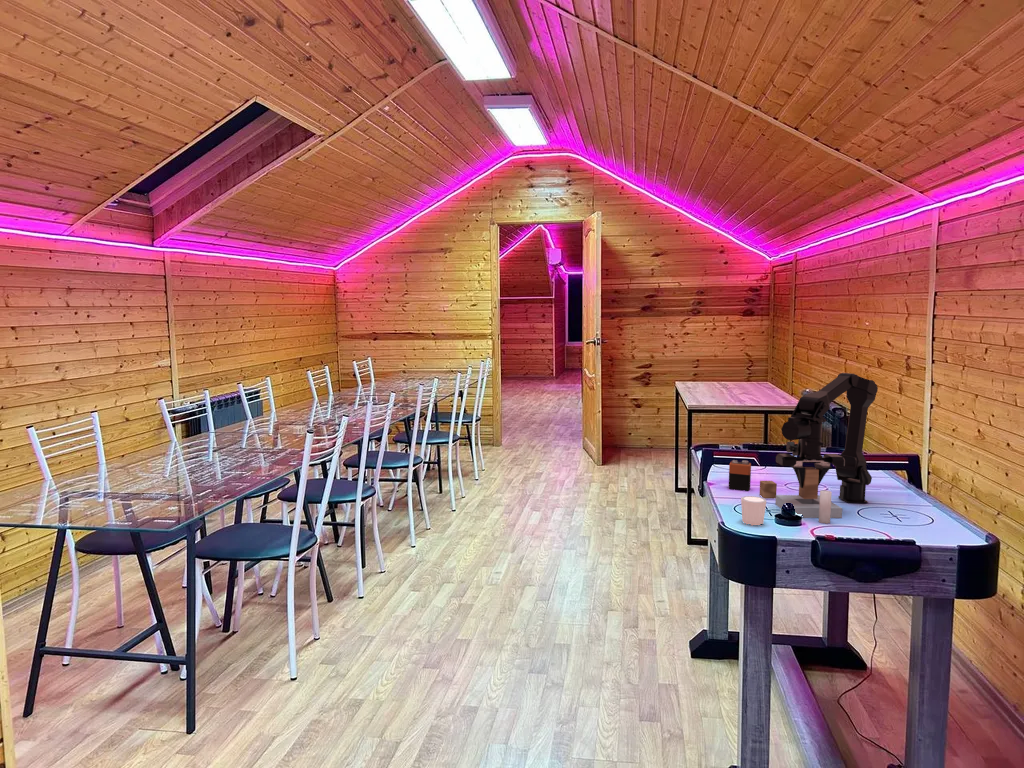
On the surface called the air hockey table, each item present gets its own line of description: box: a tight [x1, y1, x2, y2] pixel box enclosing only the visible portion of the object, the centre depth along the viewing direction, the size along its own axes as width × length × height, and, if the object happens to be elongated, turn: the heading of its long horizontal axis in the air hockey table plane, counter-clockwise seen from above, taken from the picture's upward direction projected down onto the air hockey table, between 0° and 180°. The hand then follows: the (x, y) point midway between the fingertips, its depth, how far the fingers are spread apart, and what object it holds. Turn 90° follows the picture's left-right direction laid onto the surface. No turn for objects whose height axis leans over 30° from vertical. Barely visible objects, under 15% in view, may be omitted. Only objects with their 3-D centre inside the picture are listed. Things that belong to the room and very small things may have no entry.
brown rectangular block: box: [798, 466, 819, 499], centre depth 195 cm, size 4×4×9 cm
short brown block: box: [759, 480, 778, 500], centre depth 212 cm, size 4×4×5 cm
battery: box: [728, 459, 752, 492], centre depth 221 cm, size 4×7×10 cm, turn 64°
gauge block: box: [775, 489, 843, 525], centre depth 193 cm, size 14×20×9 cm
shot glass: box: [740, 495, 767, 526], centre depth 184 cm, size 7×7×7 cm
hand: (808, 487), depth 195 cm, fingers closed on brown rectangular block, 4 cm apart
